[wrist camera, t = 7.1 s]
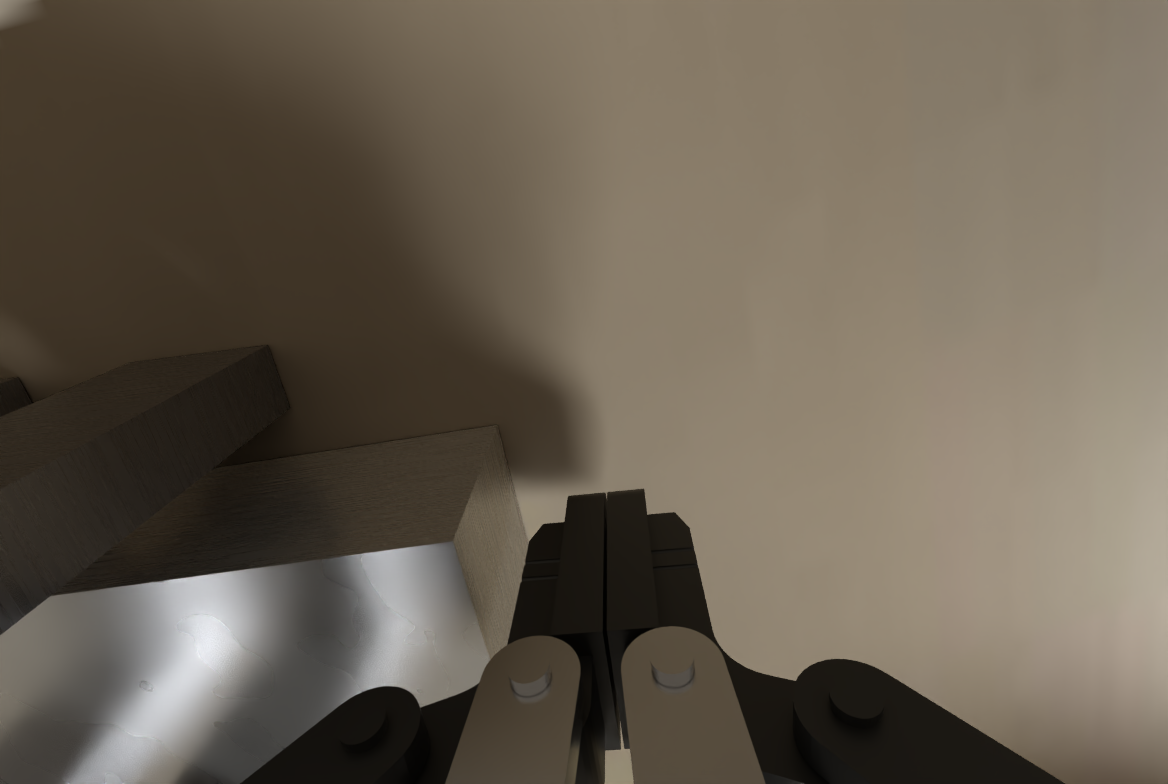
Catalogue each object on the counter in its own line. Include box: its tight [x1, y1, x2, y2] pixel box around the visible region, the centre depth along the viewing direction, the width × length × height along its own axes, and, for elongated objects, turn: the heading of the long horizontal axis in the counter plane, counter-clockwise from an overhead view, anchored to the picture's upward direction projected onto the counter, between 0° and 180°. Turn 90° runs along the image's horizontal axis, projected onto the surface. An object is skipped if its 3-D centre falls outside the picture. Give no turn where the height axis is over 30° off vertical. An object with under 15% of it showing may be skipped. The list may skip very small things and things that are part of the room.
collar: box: [0, 345, 290, 635], centre depth 8 cm, size 3×9×10 cm, turn 8°
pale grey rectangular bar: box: [0, 425, 528, 784], centre depth 12 cm, size 15×5×4 cm, turn 100°
